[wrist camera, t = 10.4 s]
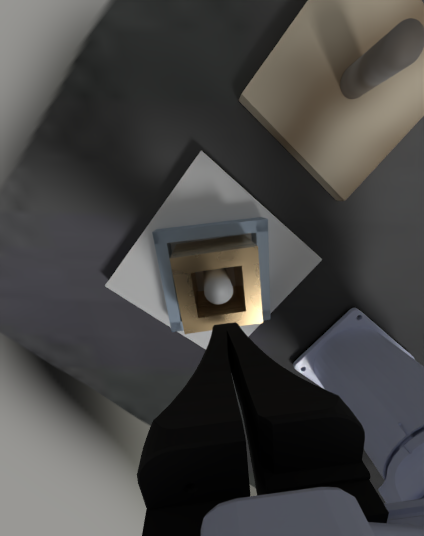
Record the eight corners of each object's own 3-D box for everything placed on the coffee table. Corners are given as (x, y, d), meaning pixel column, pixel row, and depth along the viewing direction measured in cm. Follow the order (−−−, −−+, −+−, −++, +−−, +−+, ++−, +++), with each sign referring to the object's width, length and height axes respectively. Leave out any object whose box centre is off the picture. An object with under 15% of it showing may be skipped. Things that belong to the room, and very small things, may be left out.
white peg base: (315, 256, 18) (352, 274, 14) (223, 353, 20) (229, 395, 16) (201, 153, 15) (201, 135, 11) (109, 281, 17) (80, 308, 13)
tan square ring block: (243, 234, 16) (257, 246, 12) (249, 295, 17) (262, 322, 14) (176, 244, 16) (169, 258, 12) (187, 304, 17) (184, 334, 14)
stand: (447, 78, 14) (551, 28, 10) (336, 200, 17) (384, 201, 12) (354, -63, 12) (440, -204, 8) (238, 100, 14) (255, 59, 10)
